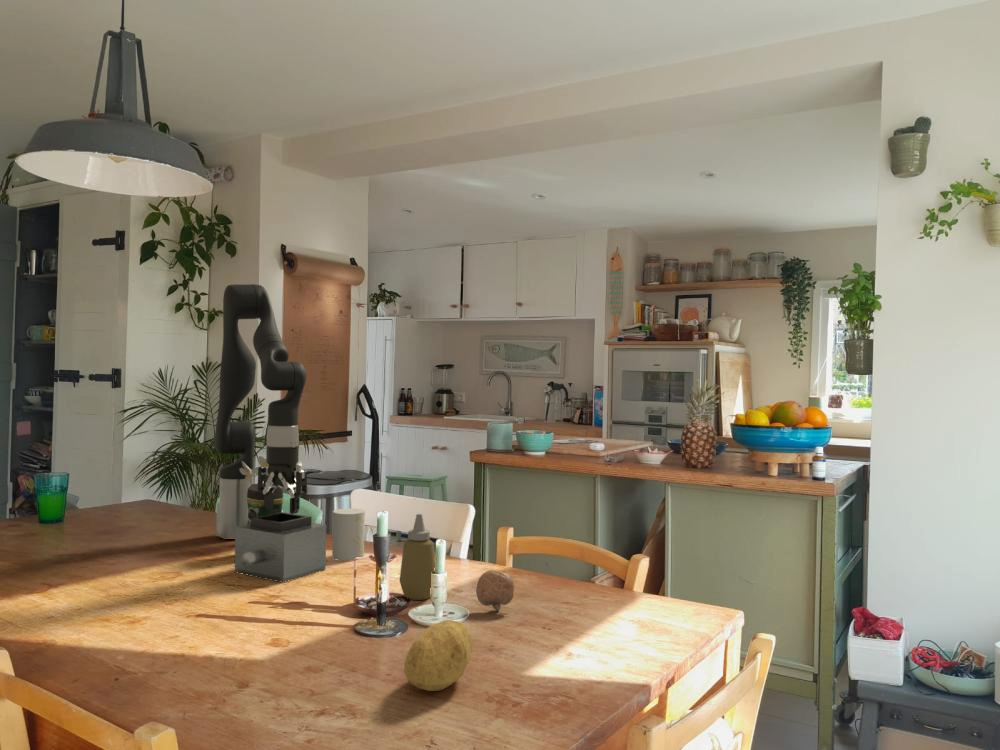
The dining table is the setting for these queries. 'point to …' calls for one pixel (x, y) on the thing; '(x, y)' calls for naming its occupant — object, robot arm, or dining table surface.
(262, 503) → the coffee jar
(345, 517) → the grey cylinder
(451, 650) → the potato
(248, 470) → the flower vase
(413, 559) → the squeeze bottle
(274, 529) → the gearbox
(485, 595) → the mushroom
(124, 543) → the dining table surface
